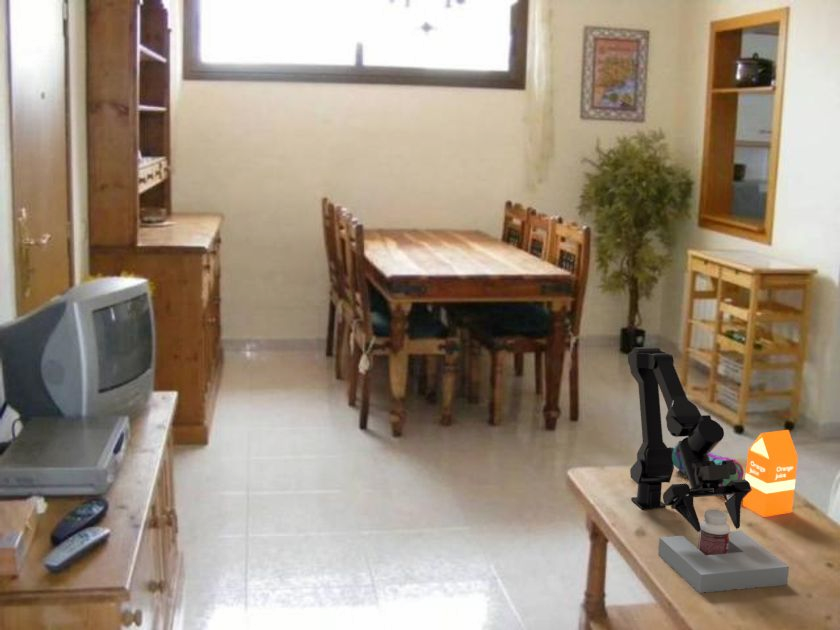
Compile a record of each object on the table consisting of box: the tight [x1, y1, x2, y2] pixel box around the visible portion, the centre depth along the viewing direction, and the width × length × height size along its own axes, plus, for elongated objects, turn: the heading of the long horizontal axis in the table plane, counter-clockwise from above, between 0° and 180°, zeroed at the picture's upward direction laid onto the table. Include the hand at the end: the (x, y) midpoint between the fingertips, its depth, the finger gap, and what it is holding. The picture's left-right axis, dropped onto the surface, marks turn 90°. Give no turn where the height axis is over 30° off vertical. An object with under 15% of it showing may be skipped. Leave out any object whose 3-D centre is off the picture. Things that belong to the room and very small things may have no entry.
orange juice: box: [742, 429, 799, 518], centre depth 242 cm, size 8×9×20 cm
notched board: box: [657, 530, 790, 594], centre depth 210 cm, size 18×20×4 cm
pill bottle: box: [697, 509, 731, 555], centre depth 213 cm, size 6×6×11 cm
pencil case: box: [668, 441, 745, 487], centre depth 261 cm, size 21×9×10 cm, turn 24°
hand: (718, 529), depth 211 cm, fingers open, 9 cm apart
